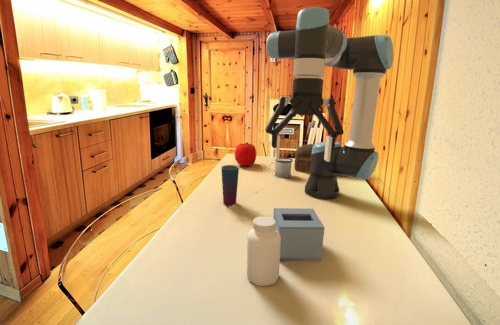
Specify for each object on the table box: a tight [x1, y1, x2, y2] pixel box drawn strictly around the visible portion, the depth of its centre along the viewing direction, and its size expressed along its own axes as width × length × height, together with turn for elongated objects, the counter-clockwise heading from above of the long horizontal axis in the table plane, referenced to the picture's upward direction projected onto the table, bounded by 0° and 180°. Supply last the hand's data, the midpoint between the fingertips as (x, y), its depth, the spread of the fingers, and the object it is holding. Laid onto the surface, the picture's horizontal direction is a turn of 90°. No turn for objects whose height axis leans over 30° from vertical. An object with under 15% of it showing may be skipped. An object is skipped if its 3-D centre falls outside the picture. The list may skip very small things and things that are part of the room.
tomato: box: [234, 142, 257, 167], centre depth 170 cm, size 16×14×14 cm
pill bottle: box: [246, 216, 281, 287], centre depth 68 cm, size 8×8×15 cm
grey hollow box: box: [272, 207, 325, 262], centre depth 82 cm, size 12×12×10 cm
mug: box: [269, 156, 293, 179], centre depth 152 cm, size 12×10×9 cm
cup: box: [221, 164, 240, 207], centre depth 112 cm, size 7×7×15 cm
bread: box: [293, 143, 346, 177], centre depth 162 cm, size 15×32×16 cm, turn 72°
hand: (301, 160), depth 77 cm, fingers open, 13 cm apart
